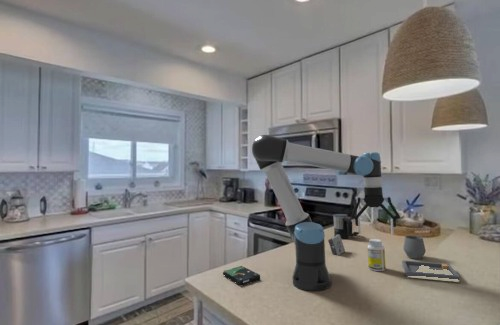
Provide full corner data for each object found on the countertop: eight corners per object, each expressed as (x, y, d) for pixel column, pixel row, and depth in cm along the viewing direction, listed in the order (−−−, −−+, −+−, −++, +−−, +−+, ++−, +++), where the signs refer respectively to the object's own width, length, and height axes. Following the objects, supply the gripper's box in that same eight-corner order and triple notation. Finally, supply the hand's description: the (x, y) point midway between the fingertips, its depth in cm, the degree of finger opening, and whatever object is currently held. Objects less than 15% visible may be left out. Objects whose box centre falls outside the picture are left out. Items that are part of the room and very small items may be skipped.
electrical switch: (338, 256, 146) (336, 238, 147) (329, 255, 149) (327, 237, 150) (345, 251, 153) (342, 234, 154) (336, 251, 157) (334, 234, 157)
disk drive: (260, 281, 119) (241, 271, 131) (260, 274, 119) (241, 265, 131) (240, 287, 113) (222, 276, 125) (240, 280, 113) (222, 270, 125)
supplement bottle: (378, 265, 130) (376, 237, 130) (389, 270, 123) (387, 241, 124) (365, 267, 128) (363, 239, 128) (375, 272, 121) (374, 243, 122)
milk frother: (331, 237, 184) (330, 215, 185) (343, 233, 195) (342, 212, 195) (351, 241, 174) (350, 217, 174) (363, 236, 185) (362, 213, 185)
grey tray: (407, 277, 114) (406, 271, 115) (402, 265, 128) (402, 260, 128) (460, 283, 108) (459, 276, 108) (449, 269, 122) (449, 264, 122)
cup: (404, 259, 137) (403, 238, 137) (403, 253, 145) (402, 234, 146) (427, 261, 133) (426, 240, 133) (424, 255, 141) (423, 235, 142)
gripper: (403, 185, 125) (406, 232, 125) (344, 186, 135) (347, 230, 134) (405, 186, 118) (408, 236, 118) (343, 187, 128) (346, 234, 127)
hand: (375, 233), depth 126 cm, fingers open, 13 cm apart
